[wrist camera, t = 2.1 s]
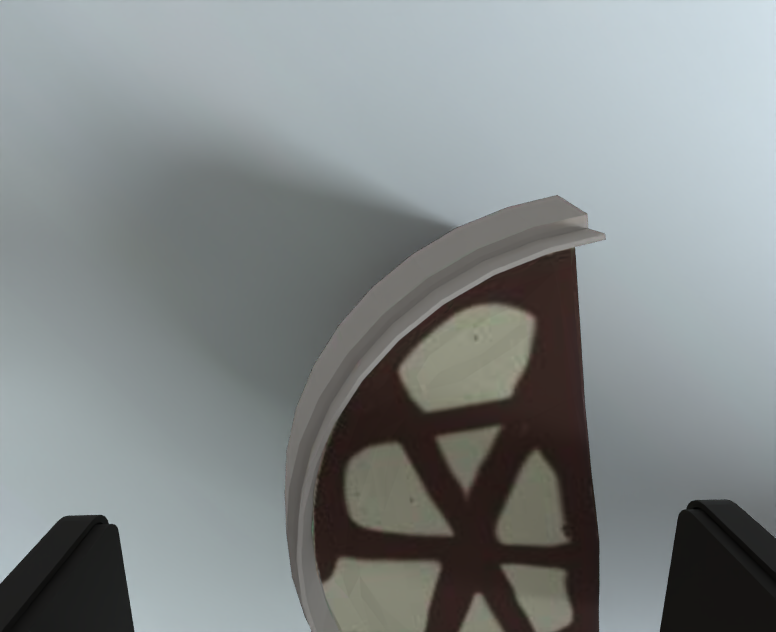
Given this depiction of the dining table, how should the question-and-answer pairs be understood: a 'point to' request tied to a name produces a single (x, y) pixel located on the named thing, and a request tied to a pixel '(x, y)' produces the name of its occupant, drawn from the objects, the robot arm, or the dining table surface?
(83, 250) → the dining table surface
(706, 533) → the robot arm
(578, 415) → the food container
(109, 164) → the dining table surface
